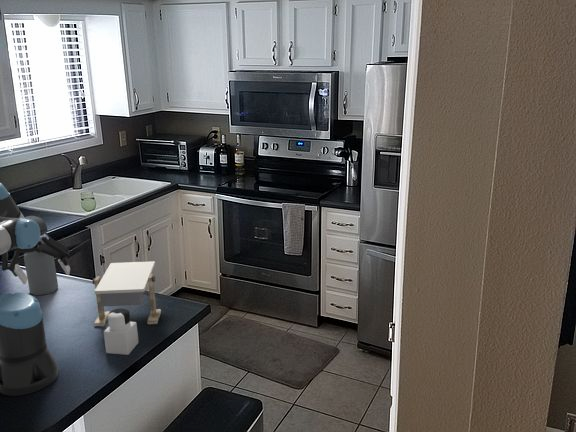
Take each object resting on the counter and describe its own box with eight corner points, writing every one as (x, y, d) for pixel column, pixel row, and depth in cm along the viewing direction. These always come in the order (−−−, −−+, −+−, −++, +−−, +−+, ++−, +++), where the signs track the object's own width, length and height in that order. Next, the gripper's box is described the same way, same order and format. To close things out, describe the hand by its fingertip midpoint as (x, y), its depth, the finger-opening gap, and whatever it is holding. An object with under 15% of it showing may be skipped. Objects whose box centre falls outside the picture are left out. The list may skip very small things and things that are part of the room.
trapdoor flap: (145, 304, 171) (143, 289, 169) (96, 306, 170) (94, 291, 168) (156, 275, 190) (154, 261, 189) (112, 277, 189) (110, 263, 188)
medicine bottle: (117, 341, 166) (112, 305, 162) (139, 342, 165) (135, 306, 161) (105, 353, 159) (100, 316, 156) (128, 355, 158) (124, 318, 155)
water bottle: (64, 288, 203) (53, 216, 195) (40, 298, 195) (28, 224, 187) (48, 282, 208) (37, 212, 200) (24, 292, 201) (11, 219, 192)
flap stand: (157, 323, 176) (153, 281, 171) (94, 326, 175) (88, 283, 170) (161, 312, 183) (157, 271, 179) (101, 315, 182) (95, 273, 178)
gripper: (59, 210, 160) (87, 259, 174) (-25, 229, 159) (10, 276, 174) (55, 227, 154) (85, 276, 169) (-32, 246, 154) (5, 294, 168)
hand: (47, 276), depth 171 cm, fingers open, 13 cm apart
